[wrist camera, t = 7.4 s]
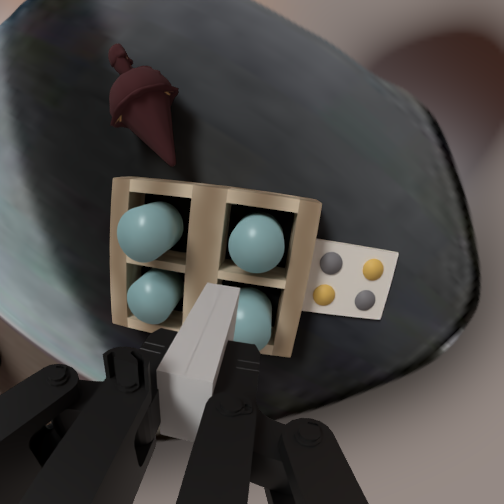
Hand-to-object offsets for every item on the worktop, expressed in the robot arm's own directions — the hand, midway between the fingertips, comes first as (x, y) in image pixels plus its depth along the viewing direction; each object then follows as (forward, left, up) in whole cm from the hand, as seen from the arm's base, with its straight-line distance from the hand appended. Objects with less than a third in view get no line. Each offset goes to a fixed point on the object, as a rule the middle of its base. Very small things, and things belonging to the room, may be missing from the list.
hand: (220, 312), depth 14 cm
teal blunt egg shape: (-8, +5, -16) cm, 18 cm away
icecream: (-4, +17, -19) cm, 25 cm away
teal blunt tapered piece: (+1, 0, -18) cm, 18 cm away
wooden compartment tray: (-5, -1, -18) cm, 19 cm away
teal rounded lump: (-11, -2, -18) cm, 21 cm away
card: (+8, -9, -18) cm, 22 cm away
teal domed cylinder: (-3, -7, -16) cm, 17 cm away
